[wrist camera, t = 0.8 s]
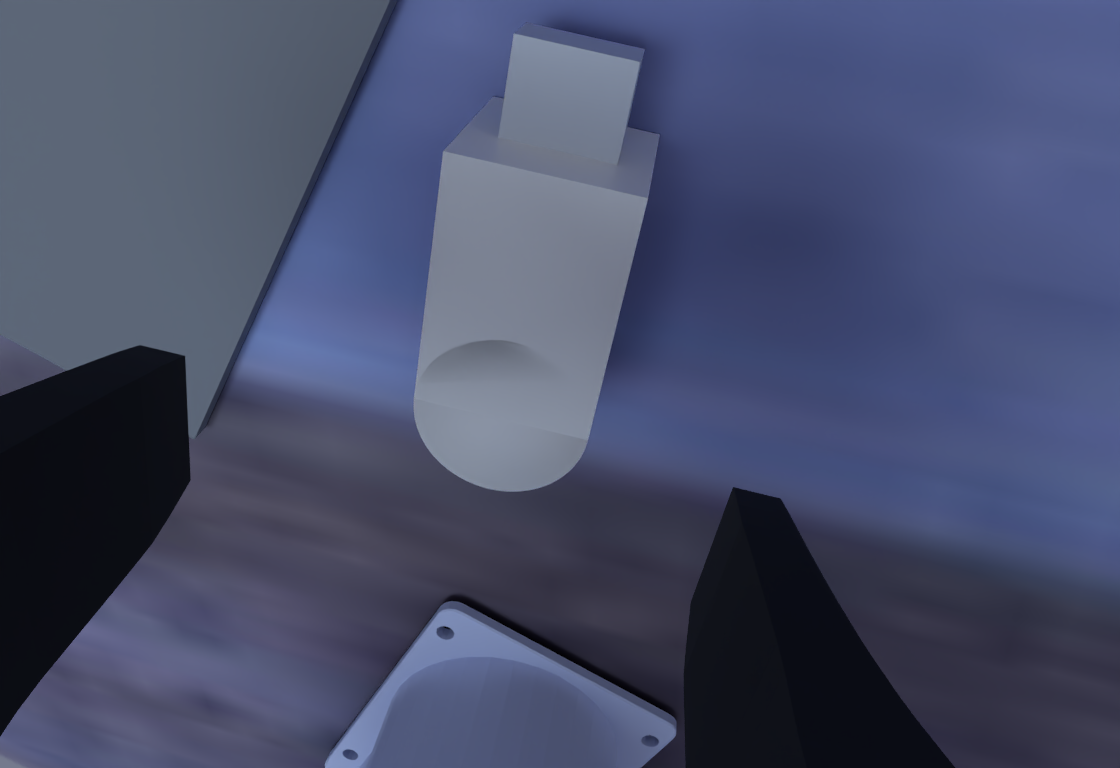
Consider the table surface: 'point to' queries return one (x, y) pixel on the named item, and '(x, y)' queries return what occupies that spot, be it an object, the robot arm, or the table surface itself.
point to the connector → (532, 261)
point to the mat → (163, 167)
